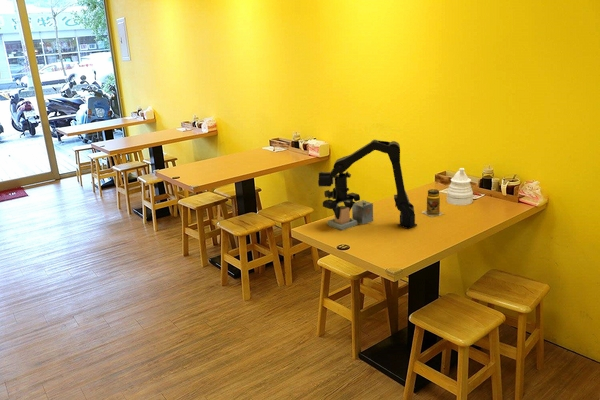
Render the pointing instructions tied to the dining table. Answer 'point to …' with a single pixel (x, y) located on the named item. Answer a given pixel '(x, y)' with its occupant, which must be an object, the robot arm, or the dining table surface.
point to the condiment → (433, 203)
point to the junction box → (362, 212)
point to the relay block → (343, 215)
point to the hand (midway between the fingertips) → (342, 217)
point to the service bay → (341, 226)
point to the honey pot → (460, 189)
